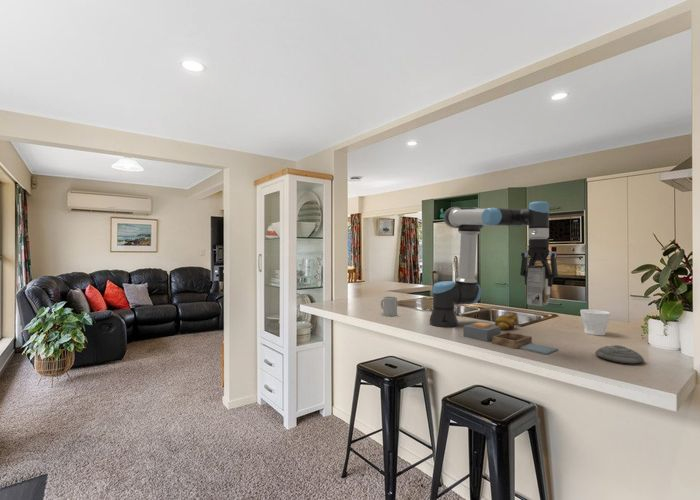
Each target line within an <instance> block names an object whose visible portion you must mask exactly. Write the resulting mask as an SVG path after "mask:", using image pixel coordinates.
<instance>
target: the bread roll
mask: <svg viewBox="0 0 700 500" xmlns="http://www.w3.org/2000/svg"><path fill="white" fill-rule="evenodd" d="M517 321H518V315H517V314H516V313H514V312H513V313H512V312H511V313H508V314H507V315H505V314H503V315H499V316H497V317H496V318H495V320H494V324H495V326H499V327H501V330H505V331H506V330H507V331H508V330H512V329H514V328H515V326H516V323H517Z"/></svg>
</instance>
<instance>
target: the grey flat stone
mask: <svg viewBox="0 0 700 500" xmlns="http://www.w3.org/2000/svg"><path fill="white" fill-rule="evenodd" d="M594 353H595V355H596V356H598V357H599V358H602V359H604V360H607V361H611V362H616V363H620V364H621V363H623V364H640V363H643V362H644V361H645V359H644V357H643V356H642V355H641V354H640V353H639V352H637V351H635V350H633V349H630V348H628V347H626V346H623V345H616V344H615V345H609V346H608V345H607V346H602V347H600V348H598V349H597V350H595V352H594Z"/></svg>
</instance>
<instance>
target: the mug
mask: <svg viewBox="0 0 700 500" xmlns="http://www.w3.org/2000/svg"><path fill="white" fill-rule="evenodd" d="M380 308H381V310H382V313H383V316H385V317H397V316H398V297H396V296H384V297H383V298H382V299H381V301H380Z"/></svg>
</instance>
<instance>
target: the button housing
mask: <svg viewBox="0 0 700 500" xmlns="http://www.w3.org/2000/svg"><path fill="white" fill-rule="evenodd" d="M501 330H502V329H501V327H499V326H496V325H492V324H491V327H489V328H480V327H475V326H473V323H470V324H465V325H463V337H466V338H471V339H475V340H479V341H483V342H490V341H492V336H496V335H499V334H502V333H501Z"/></svg>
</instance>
